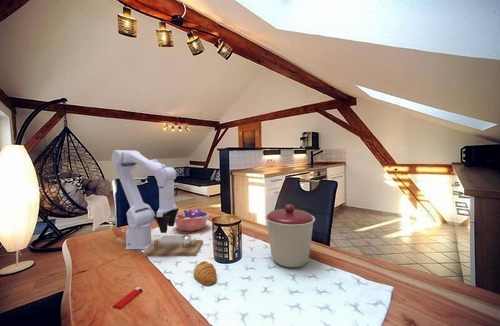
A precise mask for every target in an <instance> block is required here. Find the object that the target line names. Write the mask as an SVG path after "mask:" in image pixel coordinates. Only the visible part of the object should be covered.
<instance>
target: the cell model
mask: <svg viewBox="0 0 500 326" xmlns="http://www.w3.org/2000/svg"><path fill="white" fill-rule="evenodd" d="M209 218H210V213H209V212H208V211H206V210H202V209H200V208H196V209H195V210H192V209H189V210H185V209H184V211H181V212H179V211H178V212H177V215H176V218H175V223H174V225H175V227H176V228H177V229H178V230H180V231H184V232H194V231H198V230H201V229H202V228H204V227H205V226H206V224H207V222H208V220H209Z"/></svg>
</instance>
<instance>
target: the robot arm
mask: <svg viewBox="0 0 500 326" xmlns="http://www.w3.org/2000/svg"><path fill="white" fill-rule="evenodd" d="M111 162H112V166H113V167H114V170H115V171H116V173H117V176H118V179H119V181H120V183H121V186H122V190H123V191H124V194H125V196H126V197H125V198H126V200H127V201H128V204H129V209H128V210H127V212H126V213H125V214H126V219H127V224H128V227H127V229H126V232H125V246H126V247H125V248H124V250H146V249H148V248H149V247H150V246H151V245H152V244H153V243H154V240H152V224H153V222H154V221H156V223H157V225H158V228H159V229H158V230H159V231H160V234H166V233H167V232H168V227H174V226H175V218H176V215H177V213H179V208H178V206H177V203H175V184H174V183H175V182H174V181H175V180H176V178H177V175H178V173H177V170H176V169H175V168H174V167H172V166H169V167H168V166H166V164H163V163H160V162H159V160H158V159H148V158H146V157H145V156H144V155H143V154H141V152H140V151H138V150H135V149H134V150H133V149H132V150H130V149H129V150H127V149H125V150H121V149H120V150H119V149H114V151H113V152H112V154H111ZM137 165H140V166H141V167H143V168H144V170H145V172H147V173H148V174H150V175H152V176H154V178H155V180H156V182H157V183H156V184H157V187H158V195H159V196H158V198H159V199H158V203H159V208H158V210H157V211H156V214H155V211H154V210H153V209H152V207H151V204H150V205H149V204H148V203H145V202H144V200H143V197H142V195H141V193H140V190H139V188H138V186H137V183H136V181H135V179H134V176H133V173H132V171H133V170H135V168H136V167H137Z"/></svg>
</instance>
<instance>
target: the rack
mask: <svg viewBox="0 0 500 326" xmlns="http://www.w3.org/2000/svg"><path fill="white" fill-rule="evenodd" d="M153 241H154V243H153V244H152V245H151V246H150V247H149V248H148V249H144V251H143V252H142V257H196V256H197V254H198V253H199V252H200V249H201V247H202V245H203V244H204V241H203V239H197V238H194V239H191V247H188V248H182V247H162V248H161V245H160V239H154V240H153Z"/></svg>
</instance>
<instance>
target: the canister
mask: <svg viewBox="0 0 500 326" xmlns="http://www.w3.org/2000/svg"><path fill="white" fill-rule="evenodd" d="M264 218H265V220H266V223H267V232H268V233H267V234H268V241H269V247H270V255H271V257H272V259H273V261H274V262H276V264H277V265H280V266H283V267H285V268H286V267H287V268H299V267H302V266H304V265H306V264H307V263H308V260H309V257H310V252H311V246H312V237H313V226H314V223H315V222H316V218H315V216H313V215H312V214H311V213H310V212H307V211H305V210H301V209H295V206H294V205H293V204H291V203H290V204H289V203H288V204H286V205H285V206H284V208H280V209H279V208H278V209H275V210H272V211H270V212H268V213H267V214H266V215H265V216H264Z"/></svg>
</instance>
